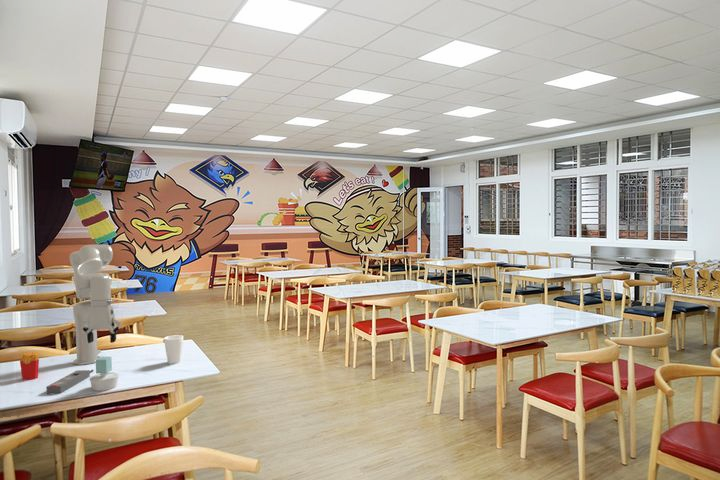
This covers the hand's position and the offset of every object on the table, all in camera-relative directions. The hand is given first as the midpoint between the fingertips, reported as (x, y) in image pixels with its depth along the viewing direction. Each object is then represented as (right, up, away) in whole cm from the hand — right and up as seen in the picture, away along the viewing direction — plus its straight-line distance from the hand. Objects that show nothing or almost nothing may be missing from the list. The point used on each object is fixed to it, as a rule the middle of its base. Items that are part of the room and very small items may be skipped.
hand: (101, 342), depth 207 cm
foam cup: (+17, -19, +38) cm, 45 cm away
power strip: (-18, -20, +9) cm, 28 cm away
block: (+1, -15, +1) cm, 15 cm away
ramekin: (+1, -21, +1) cm, 21 cm away
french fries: (-42, -21, +15) cm, 49 cm away
